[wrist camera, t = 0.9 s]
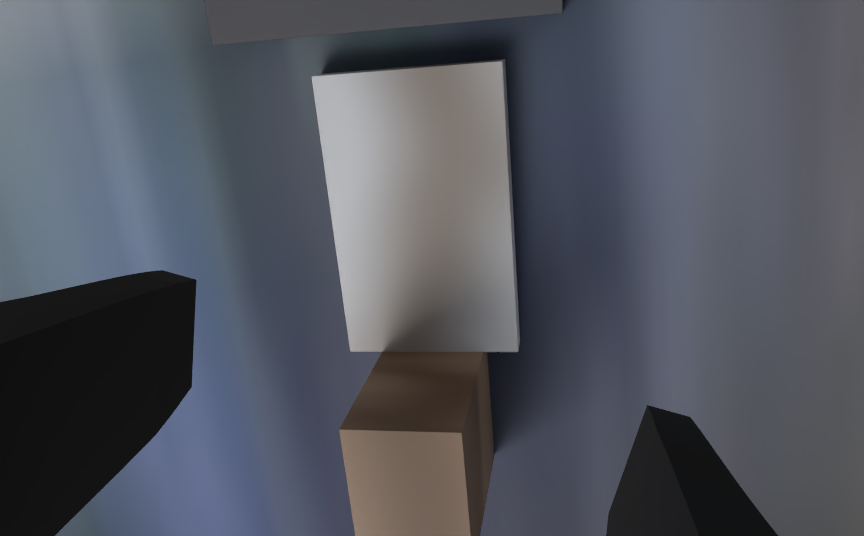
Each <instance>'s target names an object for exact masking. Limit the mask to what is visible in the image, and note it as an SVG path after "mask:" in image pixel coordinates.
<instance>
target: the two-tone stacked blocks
mask: <svg viewBox="0 0 864 536" xmlns="http://www.w3.org/2000/svg"><path fill="white" fill-rule="evenodd" d="M312 82H313V89H314V97H315V104H316V111H317V118H318V125H319V132H320V139H321V146H322V153H323V160H324V168H325V175H326V182H327V189H328V196H329V203H330V210H331V217H332V224H333V231H334V239H335V246H336V253H337V260H338V267H339V274H340V281H341V288H342V295H343V303H344V310H345V317H346V324H347V331H348V338H349V345H350V351H360V352H382V354H381V355H380V357H379V359H378V361H377V363H376V364H375V366H374V368H373V370H372V372H371V373H370V375H369V377H368V379H367V381H366V382H365V384H364V386H363V388H362V390H361V391H360V393H359V395H358V397H357V399H356V400H355V402H354V404H353V406H352V408H351V409H350V411H349V413H348V415H347V417H346V418H345V420H344V422H343V424H342V426H341V427H340V429H339V431H340V438H341V444H342V451H343V458H344V464H345V471H346V477H347V484H348V490H349V497H350V503H351V510H352V517H353V523H354V530H355V536H480V532H481V526H482V520H483V515H484V509H485V504H486V498H487V493H488V487H489V482H490V476H491V470H492V465H493V459H494V442H493V427H492V413H491V399H490V385H489V370H488V356H487V352H518V349H519V343H520V330H519V311H518V292H517V274H516V255H515V236H514V217H513V198H512V180H511V161H510V142H509V123H508V104H507V86H506V67H505V59H498V60H486V61H474V62H461V63H449V64H437V65H424V66H412V67H400V68H387V69H375V70H362V71H350V72H338V73H325V74H319V75H315V76H312Z"/></svg>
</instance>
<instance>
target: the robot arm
mask: <svg viewBox="0 0 864 536" xmlns="http://www.w3.org/2000/svg"><path fill="white" fill-rule="evenodd" d="M195 297H196V280H195V279H191V278H188V277H184V276H181V275H177V274H173V273H170V272H166V271H163V270H161V271H151V272H143V273H137V274H132V275H126V276H121V277H116V278H112V279H107V280H102V281H98V282H93V283H89V284H84V285H79V286H75V287H70V288H66V289H61V290H57V291H52V292H48V293H43V294H39V295H34V296H30V297H25V298H20V299H14V300H9V301H4V302H0V536H55V535H56V534H57V533H58V532H59V531H60V530H61V529H62V528H63V527H64V526H65V525H66V524H67V523H68V522H69V521H70V520H71V519H72V518H73V517H74V516H75V515H76V514H77V513H78V512H79V511H80V510H81V509H82V508H83V507H84V506H85V505H86V504H87V503H88V502H89V501H90V500H91V499H92V498H93V497H94V496H95V495H96V494H97V493H98V492H99V491H100V490H101V489H102V488H103V487H104V486H105V485H106V484H107V483H108V482H109V481H110V480H111V479H112V478H113V477H114V476H115V475H116V474H118V473H119V472H120V471H121V470H122V469H123V468H124V467H125V466H126V465H127V463H128V462H129V461H130V460H131V459H132V458H133V457H134V456H135V455H136V454H137V453H138V452H139V451H140V450H141V449H142V448H143V447H144V446H145V445H146V444H147V443H148V442H149V441H150V440H151V439H152V438H153V437H154V436H155V435H156V434H157V432H158V431H159V430H160V429H161V427H162V426H163V425H164V424H165V422H166V421H167V420H168V418H169V417H170V416H171V415H172V413H173V412H174V411H175V409H176V408H177V406H178V405H179V404H180V402H181V401H182V399H183V398H184V397H185V395H186V394H187V393H188V391H189V390H190V388H191V387H192V364H193V342H194V319H195ZM606 536H778V535H777V534H776V533H775V531H774V530H773V529H772V528H771V526H770V525H769V524H768V522H767V521H766V520H765V519H764V517H763V516H762V515H761V513H760V512H759V511H758V510H757V508H756V507H755V506H754V504H753V503H752V502H751V500H750V499H749V498H748V496H747V495H746V494H745V492H744V491H743V490H742V488H741V487H740V485H739V484H738V483H737V481H736V480H735V479H734V477H733V476H732V474H731V473H730V472H729V470H728V469H727V467H726V466H725V465H724V463H723V462H722V460H721V459H720V458H719V456H718V455H717V453H716V452H715V451H714V449H713V448H712V446H711V445H710V443H709V442H708V441H707V439H706V438H705V436H704V435H703V434H702V432H701V431H700V429H699V428H698V427H697V425H696V424H695V423H694V421H693V420H692V419H691V418H690V417H688V416H684V415H681V414H677V413H673V412H670V411H666V410H663V409H659V408H655V407H652V406H648V405H647V408H646V410H645V413H644V416H643V419H642V422H641V424H640V427H639V430H638V433H637V436H636V438H635V441H634V444H633V447H632V450H631V452H630V455H629V458H628V461H627V464H626V466H625V469H624V472H623V475H622V478H621V480H620V483H619V486H618V489H617V492H616V494H615V497H614V500H613V503H612V506H611V508H610V511H609V516H608V525H607V535H606Z"/></svg>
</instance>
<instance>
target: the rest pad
mask: <svg viewBox="0 0 864 536" xmlns="http://www.w3.org/2000/svg"><path fill="white" fill-rule="evenodd" d="M204 2H205V8H206V13H207V19H208V24H209V30H210V35H211V40H212V45H222V44H233V43H244V42H254V41H265V40H276V39H287V38H297V37H308V36H319V35H330V34H340V33H351V32H362V31H373V30H384V29H394V28H405V27H416V26H427V25H437V24H448V23H459V22H470V21H480V20H491V19H502V18H513V17H524V16H534V15H545V14H556V13H563V0H204Z"/></svg>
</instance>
